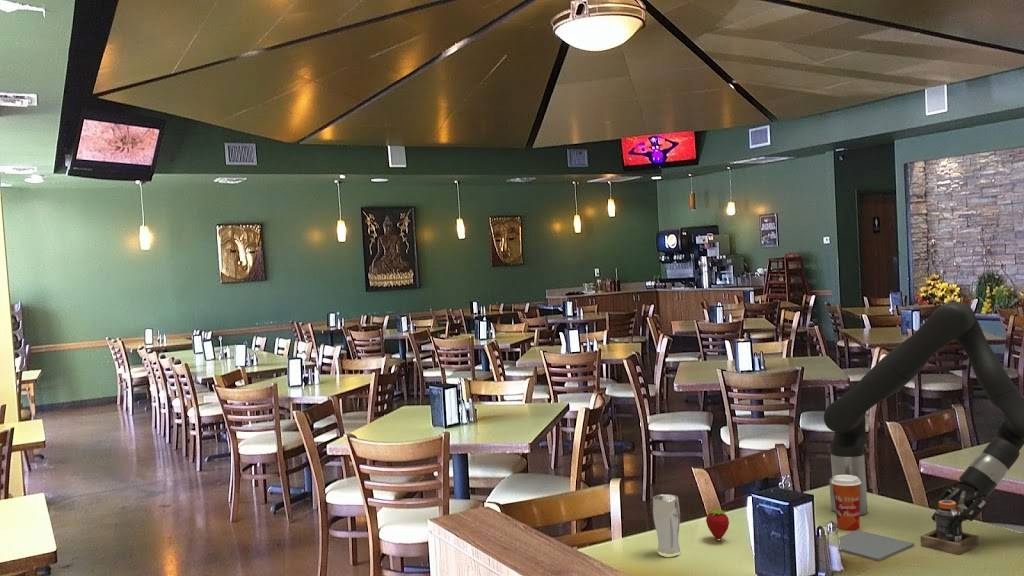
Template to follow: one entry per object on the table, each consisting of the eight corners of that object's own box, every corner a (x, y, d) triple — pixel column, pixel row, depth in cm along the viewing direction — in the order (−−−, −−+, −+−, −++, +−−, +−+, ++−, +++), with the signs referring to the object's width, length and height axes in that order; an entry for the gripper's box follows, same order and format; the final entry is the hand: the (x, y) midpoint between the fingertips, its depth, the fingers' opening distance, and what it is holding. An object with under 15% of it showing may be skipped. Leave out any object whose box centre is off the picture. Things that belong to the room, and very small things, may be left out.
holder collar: (920, 545, 210) (920, 536, 210) (941, 536, 215) (940, 527, 215) (959, 554, 202) (958, 544, 202) (979, 545, 207) (978, 535, 207)
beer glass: (684, 550, 219) (680, 494, 219) (680, 559, 212) (676, 501, 212) (658, 548, 221) (654, 493, 221) (653, 557, 214) (650, 501, 214)
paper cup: (833, 530, 226) (830, 480, 226) (834, 522, 233) (831, 473, 233) (864, 532, 223) (861, 481, 223) (864, 523, 230) (860, 474, 230)
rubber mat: (822, 546, 215) (822, 543, 215) (857, 532, 224) (857, 529, 224) (878, 561, 201) (878, 558, 201) (914, 545, 210) (914, 543, 210)
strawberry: (723, 535, 229) (721, 499, 228) (734, 543, 221) (732, 506, 221) (703, 537, 228) (701, 501, 228) (713, 546, 220) (711, 509, 220)
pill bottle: (968, 548, 206) (965, 504, 206) (944, 550, 206) (941, 505, 206) (955, 541, 212) (953, 497, 211) (932, 542, 212) (929, 499, 212)
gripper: (955, 459, 216) (915, 507, 215) (991, 471, 202) (948, 524, 201) (976, 477, 217) (936, 526, 216) (1013, 491, 202) (970, 543, 202)
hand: (942, 524), depth 208 cm, fingers closed on pill bottle, 6 cm apart
